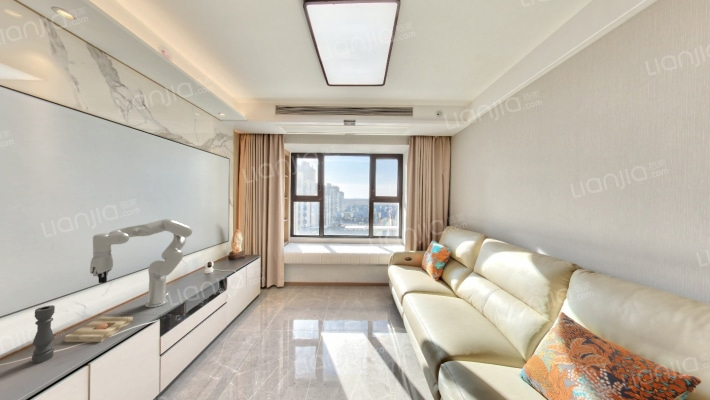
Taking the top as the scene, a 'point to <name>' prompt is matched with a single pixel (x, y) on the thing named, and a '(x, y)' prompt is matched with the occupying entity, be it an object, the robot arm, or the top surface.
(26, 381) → the top surface
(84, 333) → the board
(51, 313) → the candle holder
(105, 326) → the ball
